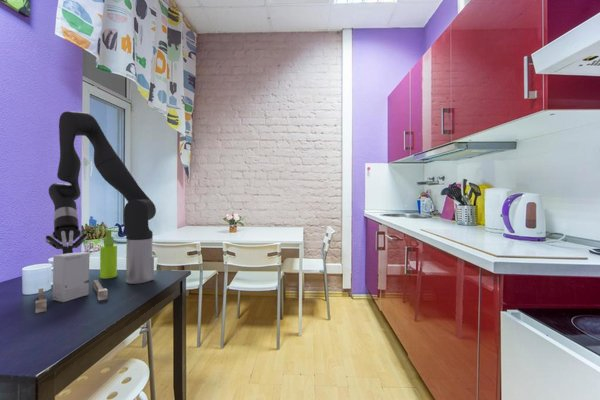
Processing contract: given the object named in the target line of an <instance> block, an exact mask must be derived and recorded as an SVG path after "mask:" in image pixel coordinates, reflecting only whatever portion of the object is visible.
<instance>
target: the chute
mask: <svg viewBox="0 0 600 400" xmlns="http://www.w3.org/2000/svg"><path fill="white" fill-rule="evenodd" d="M93 289H94V291H95V292H96V294H97V301H105V300H108V297H109V296H108V291H109V290H108V289H107V288H104V287H103V286H102V285H101V283H100V281H99V280H98V279H95V280H93ZM47 306H48V304H47V298H45V297H44V288H38V299H36V300H35V314H38V313H43V312H47V311H48V309H47Z"/></svg>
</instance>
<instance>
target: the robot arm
mask: <svg viewBox="0 0 600 400" xmlns="http://www.w3.org/2000/svg"><path fill="white" fill-rule="evenodd" d="M58 120H59V121H58V135H59V139H58V140H59V163H58V167H57V172H56V173H57V175H56V177H57V179H58V180H59V181H62V182H65V183H61V182H55V183H52V184H51V185H50V186H49V188H48V195H49V197H50V199H51V201H52V203H53V205H54V215H53V232H52V234H50V235H45V243H47V244H48V245H50V246H51V247H54V248H55V250H61V251H62V254H67V253H74V251H73V249H78V248H79V247H80V245H82V244H83V243H84V242H85V241H86V240H87V237H88V234H87V233H82V232H81V230H80V228H79V227H80V225H79V214H78V211H77V209H78V208H77V202H76V201H77V200H78V199H79V198H80V197H81V189H80V184H79V177H80V170H81V164H82V163H81V159H80V157H79V155H78V153H77V150H76V148H75V139H76V136H78V137H79V136H85V137H86V138H87V139H88V140H89V142H90V143H91V145H92V148H93V163H94V167H95V168H96V170H97V172H98V173H99V175H101V177H102V178H103V179H104V181H105V182H107V184H109V185H110V186H111V187H113V188H114V189H115V190H117V192H119V193H120V194H121V195H122V196H123V197H124V198H125V199H126V201H127V203H126V204H125V206H124V209H123V228H124V229H123V230H124V233H125V235H126V236H125V237H126V259H125V260H126V265H125V266H126V268H125V269H126V271H125V272H126V273H125V274H126V275H125V281H126V283H127V284H131V285H132V284H135V285H137V284H143V283H147V282H150V281H154V280H155V257H154V255H153V246H154V245H153V243H154V242H153V236H154V235H153V231H152V230H151V229H150V227H149V220H151V219H153V218H154V217H155V216H156V213H157V209H156V205H155V204H154V202H153V200H151V198H150V197H149V196H148V195H147V194H146V193H145V192H144V191H143V189H142V188H141V187H140V186H139V184H138V183H137V181H136V180H135V178H134V177H133V175H132V174H131V172H130V171H129V169H128V168H127V166H126V165H125V163H124V161H122V159H121V158H120V156H119V155H118V153H117V152H116V151H115V149H114V148H113V146H112V145H111V143H110V142H109V141H108V138H107V136H106V135H105V134H104V132H103V130H102V128H101V126H100V124H99V122H98V121H97V119H96V118H95V116H93V115H92V114H91V113H88V112H84V111H83V112H82V111H72V110H71V111H64V112H62V113H61V115H60V116H59V118H58ZM67 243H68V244H67Z"/></svg>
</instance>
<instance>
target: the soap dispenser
mask: <svg viewBox="0 0 600 400" xmlns="http://www.w3.org/2000/svg"><path fill="white" fill-rule="evenodd" d="M103 232H105V233H106V236H105V237H103V245H100V246H99V248H100V250H99V260H100V261H99V267H100V269H99V278H100V279H102V280H103V279H106V280H107V279H111V278H116V277H117V276H118V245H117V244H114V241H115V240H114V239H115V238H114V236H112V232H114V233H118V232H120V230H119V229H115V228H114V229H111V228H110V229H104V230H103Z"/></svg>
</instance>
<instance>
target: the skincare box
mask: <svg viewBox="0 0 600 400" xmlns="http://www.w3.org/2000/svg"><path fill="white" fill-rule="evenodd" d="M52 263H53V264H52V265H53V266H52V267H53V268H52V297H51V299H52V300H53V301H57V302H60V303H65V302H69V301H72V300H74V299H75V300H76V299H79V298H82V297H85V296H89V294H90V252H82V251H76V252H73V253H67V254H63V253H61V254H55V255H52Z"/></svg>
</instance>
